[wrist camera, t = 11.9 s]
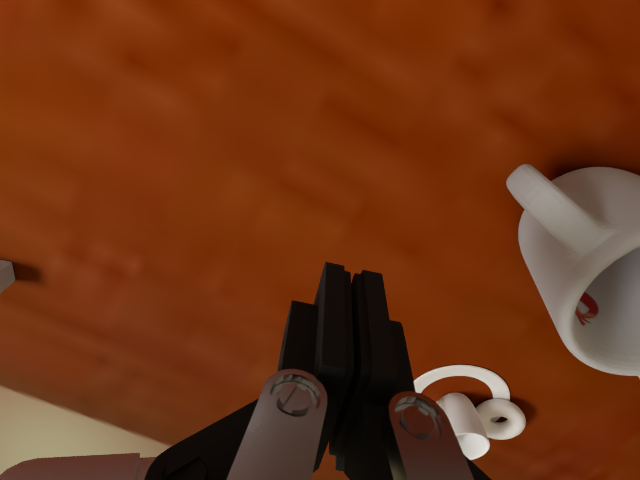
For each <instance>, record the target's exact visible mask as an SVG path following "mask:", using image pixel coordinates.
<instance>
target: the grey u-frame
mask: <svg viewBox="0 0 640 480" xmlns="http://www.w3.org/2000/svg"><path fill="white" fill-rule="evenodd" d="M14 281H15V276H14V271H13V265H12V262H9V261H4V260H0V293H2V292H3V291H4V290H5V289H6V288H7V287H8V286H10V285H11V284H12V283H13V282H14Z"/></svg>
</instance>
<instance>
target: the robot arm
mask: <svg viewBox="0 0 640 480" xmlns="http://www.w3.org/2000/svg"><path fill="white" fill-rule="evenodd" d="M328 441H329V454H330V455H335V456H336V470H339V471H344V473H345V474H346V475H347V477H348V478H349V479H350V480H491V479H490V478H489V477H488V476H487V475H486V474H485V473H484V472H483V471H481V470H480V469H479V468H478V467H477V466H476V465H475V464H474V463H473V462H472V461H471V460H469V459H468V458H467V457H466V456H465V455H464V454H463V452H462V449H461V447H460V445H459V442H458V440H457V437H456V435H455V433H454V430H453V428H452V426H451V423H450V421H449V419H448V417H447V415H446V413H445V412H444V410H443V409H442V408H441V407H440V406H439V405H438V404H437V403H436V402H435V401H433V400H432V399H431V398H429V397H427V396H425V395H423V394H421V393H417V392H416V391H415V386H414V381H413V376H412V371H411V366H410V361H409V356H408V351H407V346H406V341H405V336H404V331H403V327H402V324H401V323H400V322H396V321H391V320H389V314H388V308H387V301H386V295H385V289H384V283H383V277H382V274H380V273H375V272H371V271H366V270H363V271H362V272H361V274H357V273H355V274H354V277H353V280H352V283H351V276H350V272H347V271H344V266H342V265H338V264H333V263H328V262H326V263H325V265H324V268H323V272H322V276H321V279H320V283H319V287H318V290H317V294H316V298H315V301H314V305H313V304H308V303H303V302H298V301H293V300H292V302H291V306H290V310H289V314H288V318H287V322H286V327H285V331H284V336H283V341H282V347H281V352H280V358H279V364H278V370H277V372H276V373H274V374H273V375H272V376H270V377H269V378H268V380H267V381H266V383H265V385H264V387H263V390H262V392H261V395H260V397H259V399H257V400H255V401H253V402H252V403H250V404H248V405H246V406H244V407H243V408H241V409H239V410H237V411H235V412H233V413H232V414H230V415H228V416H226V417H224V418H223V419H221V420H219V421H217V422H215V423H214V424H212V425H210V426H208V427H206V428H204V429H203V430H201V431H199V432H197V433H195V434H194V435H192V436H190V437H188V438H186V439H185V440H183V441H181V442H179V443H177V444H175V445H174V446H172V447H170V448H169V449H167V450H165V451H164V452H163V453H161V454H160V455H159V456H157V457H150V458H140V453H129V454H111V455H91V456H72V457H54V458H37V459H32V460H27V461H23V462H21V463H19V464H17V465H15V466H13V467H11V468H9V469H7V470H6V471H5V472H3V473H2V474H1V475H0V480H311V478H312V474H313V472H315V471H316V470H317V469H318V468H319V466H320V463H321V460H322V458H323V455H324V452H325V450H326V447H327V444H328Z"/></svg>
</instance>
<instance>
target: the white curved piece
mask: <svg viewBox="0 0 640 480" xmlns="http://www.w3.org/2000/svg"><path fill="white" fill-rule="evenodd" d="M449 376H469V377H474V378H477V379H479V380H481V381H483V382H484V383H486V384H487V385H488V386H489V387H490V389H491V391H492V393H493V399H491V400H487V401H484V402H482V403H481V404H479V405H478V406H477V407H476V409H475V407H474V405H473V404H472V402H471V401H470V400H469V399H468V398H467V397H466V396H465V395H464V394H461V393H449V394H447V395H445V396H443V397H442V398H441V400H439V401H437V402H436V403H437V404H438V405H439V406H440V407H441V408H442V409H443V410H444V412H445V413H446V415H447V417H448V419H449V421H450V423H451V426H452V428H453V430H454V433H455V435H456V437H457V440H458V442H459V445H460V447H461V449H462V452H463V454H464V455H465V456H466V457H467V458H468V459H469V460H472V459H476V458H479V457H481V456H483V455H484V454H485V453H486V452H487V451H488V450H489V447H490V443H489V440H488V437H489V438H493V439H500V440H504V439H510V438H513V437H515V436H517V435H519V434H520V433H521V432H522V431H523V429H524V428H525V424H526V419H525V415H524V413H523V412H522V411H521V409H520V408H519V407H518V406H517V405H515V404H514V403H512V402H510V392H509V388H508V386H507V384H506V383H505V381H504V380H503V379H502V378H501V377H500V376H498V375H497V374H495V373H494V372H492V371H490V370H487V369H485V368H482V367H478V366H472V365H451V366H445V367H441V368H437V369H434V370H431V371H429V372H427V373H425V374H423V375H421V376H420V377H418V378H417V379H416V380H414V386H415V391H416V392H417V393H421V392H422V391H423V389H424V388H425V387H426V386H428V385H429V384H431V383H432V382H434V381H436V380H439V379H441V378H445V377H449ZM500 417H505V418H507V420H506V421H504V422H495V421H497V420H498V419H499V418H500Z"/></svg>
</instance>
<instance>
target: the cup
mask: <svg viewBox="0 0 640 480" xmlns="http://www.w3.org/2000/svg"><path fill="white" fill-rule="evenodd" d="M506 184H507V188H508V190H509V191H510V192H511V194H512V195H513V196H514V198H515V199H516V200H517V201H518V202H519V204H520V205H521V206H522V207H523V208H524V209H525V210H524V212H523V214H522V216H521V219H520V223H519V229H518V239H519V245H520V249H521V252H522V255H523V258H524V260H525V262H526V265H527V267H528V269H529V271H530V273H531V275H532V277H533V280H534V282H535V284H536V286H537V288H538V290H539V292H540V295H541V297H542V299H543V301H544V303H545V305H546V307H547V310H548V312H549V314H550V316H551V318H552V320H553V322H554V324H555V327H556V329H557V331H558V333H559V335H560V337H561V339H562V341H563V343H564V344H565V346H566V347H567V348H568V350H569V351H570V352H571V353H572V354H573V355H574V356H575V357H576V358H578V359H579V360H580V361H582V362H583V363H585V364H587V365H589V366H591V367H593V368H595V369H598V370H601V371H604V372H607V373H612V374H618V375H627V376H640V176H639V175H636V174H634V173H631V172H628V171H625V170H621V169H616V168H610V167H588V168H582V169H578V170H574V171H571V172H568V173H566V174H563V175H561V176H559V177H557V178H555V179H554V180H552V181H550V180H548V179H547V178H546V177H545V176H544V175H542V174H541V173H540V172H539V171H538V170H536V169H535V168H534V167H533V166H532V165H530V164H524V165H521V166H519V167H518V168H517V169H516V170H515V171H514V172H512V174H511V175H510V176H509V177H508V179H507V182H506Z"/></svg>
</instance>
